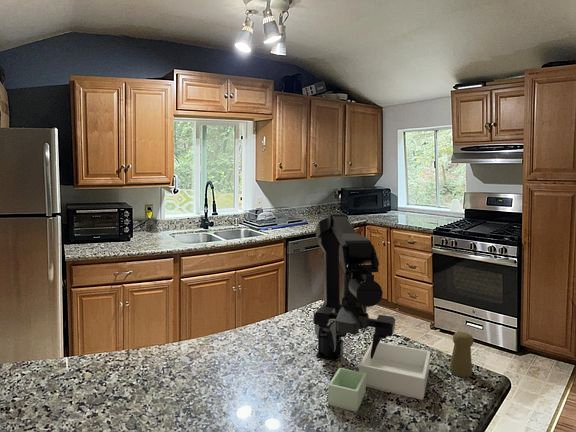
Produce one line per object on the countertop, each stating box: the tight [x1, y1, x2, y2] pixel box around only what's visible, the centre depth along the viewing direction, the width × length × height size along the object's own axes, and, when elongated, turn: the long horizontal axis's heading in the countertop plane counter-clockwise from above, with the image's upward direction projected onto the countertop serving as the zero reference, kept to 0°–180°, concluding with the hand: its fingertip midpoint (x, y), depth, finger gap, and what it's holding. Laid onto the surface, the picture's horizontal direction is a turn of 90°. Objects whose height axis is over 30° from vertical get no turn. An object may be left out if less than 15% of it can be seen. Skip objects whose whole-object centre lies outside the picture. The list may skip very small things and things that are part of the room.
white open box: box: [358, 340, 431, 401], centre depth 112 cm, size 16×16×6 cm
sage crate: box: [327, 367, 367, 413], centre depth 102 cm, size 7×9×5 cm
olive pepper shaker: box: [448, 331, 474, 378], centre depth 115 cm, size 6×6×11 cm
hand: (352, 354), depth 101 cm, fingers open, 9 cm apart
